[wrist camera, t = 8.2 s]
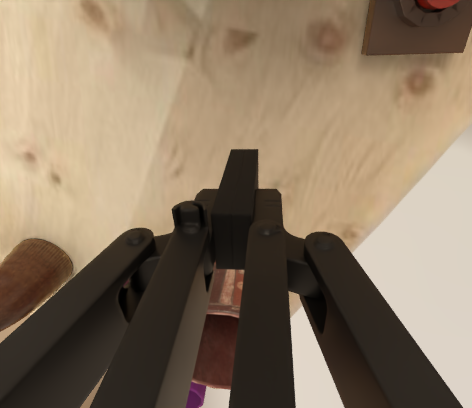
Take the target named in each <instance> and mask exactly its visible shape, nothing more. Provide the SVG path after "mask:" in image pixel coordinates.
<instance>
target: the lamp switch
mask: <svg viewBox="0 0 472 408" xmlns="http://www.w3.org/2000/svg"><path fill="white" fill-rule="evenodd" d="M417 1H418V3H419V4H420V5H421V6H422V7H423V8H426V9H441V8H447V7H450V6H452V5H454V4H456V3H457V2H459V1H460V0H417Z"/></svg>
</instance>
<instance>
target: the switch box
mask: <svg viewBox="0 0 472 408" xmlns="http://www.w3.org/2000/svg"><path fill="white" fill-rule="evenodd" d="M471 27H472V0H460V1H459V2H457V3H456V4H454V5H452V6H450V7H447V8H441V9H426V8H423V7H422V6H421V5H420V4H419V3H418V1H417V0H370V5H369V11H368V17H367V23H366V29H365V35H364V41H363V47H362V54H364V55H367V56H368V55H402V54H435V53H463V52H464V49H465V46H466V42H467V39H468V36H469V33H470V30H471Z"/></svg>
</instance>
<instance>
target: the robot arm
mask: <svg viewBox="0 0 472 408" xmlns="http://www.w3.org/2000/svg"><path fill="white" fill-rule="evenodd" d="M172 214H173V219H174V225H175V228H174V230H173V232H172V233H170V234H166V235H160V236H155V237H154V235H153V232H152V231H151V230H149V229H147V228H134V229H131V230H128V231H126V232H124V233H123V234H121V235H120V236H119V237H118V238H117V239H116V240H115V241H113V242H112V243H111V244H110V245H109V246H108V247H107V248H106V249H105V250H103V251H102V252H101V253H100V254H99V255H98V256H97V257H96V258H95V259H93V260H92V261H91V262H90V263H89V264H88V265H87V266H86V267H85V268H83V269H82V270H81V271H80V272H79V273H78V274H77V275H76V276H75V277H73V278H72V279H71V280H70V281H69V282H68V283H67V284H66V285H65V286H63V287H62V288H61V289H60V290H59V291H58V292H57V293H56V294H55V295H53V296H52V297H51V298H50V299H49V300H48V301H47V302H46V303H45V304H43V305H42V306H41V307H40V308H39V309H38V310H37V311H36V312H35V313H33V314H32V315H31V316H30V317H29V318H28V319H27V320H26V321H25V322H24V323H22V324H21V325H20V326H19V327H18V328H17V329H16V330H15V331H13V332H12V333H11V334H10V335H9V336H8V337H7V338H6V339H5V340H4V341H2V342H1V343H0V408H80V407H81V405H82V404H83V402H84V401H85V400H86V398H87V397H88V396H89V394H90V393H91V391H92V390H93V389H94V387H95V386H96V384H97V383H98V382H99V380H100V379H101V378H102V376H103V375H104V373H105V372H106V371H107V372H106V374H105V376H104V378H103V380H102V383H101V385H100V387H99V389H98V391H97V393H96V395H95V397H94V400H93V402H92V404H91V406H90V408H186V404H187V399H188V395H189V390H190V386H191V381H192V377H193V372H194V368H195V363H196V359H197V354H198V350H199V345H200V341H201V336H202V332H203V327H204V322H205V318H206V313H207V309H208V304H209V300H210V295H211V291H212V286H213V282H214V269H213V268H214V264H215V262H216V269H231V270H244V277H243V286H242V295H241V304H240V312H239V321H238V330H237V339H236V347H235V356H234V365H233V374H232V382H231V391H230V400H229V408H295V407H296V406H295V391H294V374H293V358H292V341H291V325H290V309H289V292H288V291H291V292H294V293H297V294H299V295H300V300H301V302H302V305H303V307H304V310H305V312H306V314H307V317H308V319H309V322H310V324H311V326H312V329H313V332H314V334H315V336H316V339H317V341H318V344H319V346H320V348H321V351H322V353H323V356H324V358H325V361H326V363H327V366H328V368H329V371H330V373H331V375H332V378H333V380H334V383H335V385H336V387H337V390H338V392H339V395H340V397H341V400H342V402H343V405H344V407H345V408H463V407H462V405H461V404H460V403H459V401H458V400H457V398H456V397H455V396H454V394H453V393H452V392H451V390H450V389H449V387H448V386H447V385H446V383H445V382H444V380H443V379H442V378H441V376H440V375H439V374H438V372H437V371H436V370H435V368H434V367H433V366H432V364H431V363H430V361H429V360H428V359H427V357H426V356H425V354H424V353H423V352H422V350H421V349H420V347H419V346H418V345H417V343H416V342H415V340H414V339H413V338H412V336H411V335H410V334H409V332H408V331H407V329H406V328H405V327H404V325H403V324H402V322H401V321H400V320H399V318H398V317H397V316H396V314H395V313H394V311H393V310H392V309H391V307H390V306H389V304H388V303H387V302H386V300H385V299H384V298H383V296H382V295H381V293H380V292H379V291H378V289H377V288H376V286H375V285H374V284H373V282H372V281H371V280H370V278H369V277H368V275H367V274H366V273H365V271H364V270H363V269H362V267H361V266H360V264H359V263H358V262H357V260H356V259H355V258H354V256H353V255H352V253H351V252H350V251H349V249H348V248H347V246H346V245H345V244H344V242H343V241H342V240H341V239H340V238H339V237H338V236H336V235H334V234H332V233H327V232H314V233H311V234H309V235H308V236H306V238H305V239H302V238H298V237H295V236H293V235H291V234H289V233H288V232H287V231H286V230H285V229H284V227H283V216H282V199H281V194H280V192H279V191H278V190H277V189H258V149H231V152H230V155H229V158H228V161H227V164H226V167H225V171H224V174H223V177H222V180H221V183H220V186H219V189H203V190H201V191H200V192H199V193H198V194H197V195H196V197H195V200H194V201H185V202H181V203H179V204H177V205H175V206H174V207H173V208H172ZM128 280H129V282H128V283H127V284H126V285H125V286H124V287H123V285H124V284H125V283H126V282H127V281H128ZM107 369H108V370H107Z"/></svg>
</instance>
